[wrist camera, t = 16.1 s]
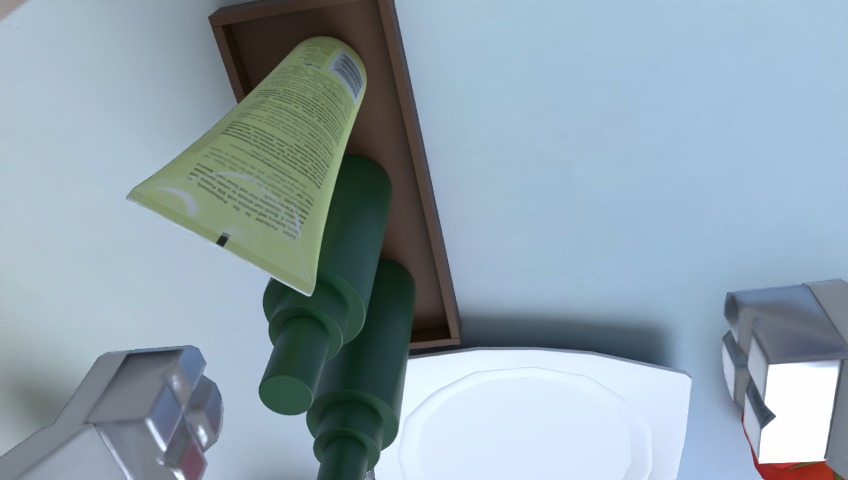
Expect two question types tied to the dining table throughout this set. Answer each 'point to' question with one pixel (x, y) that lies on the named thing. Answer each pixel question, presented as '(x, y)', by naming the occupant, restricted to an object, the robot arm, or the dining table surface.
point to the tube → (268, 165)
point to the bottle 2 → (365, 382)
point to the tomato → (794, 469)
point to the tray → (361, 128)
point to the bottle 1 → (327, 289)
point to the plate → (537, 417)
